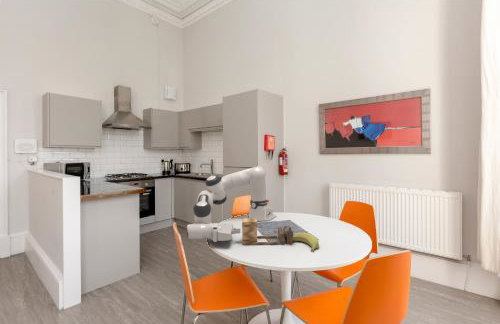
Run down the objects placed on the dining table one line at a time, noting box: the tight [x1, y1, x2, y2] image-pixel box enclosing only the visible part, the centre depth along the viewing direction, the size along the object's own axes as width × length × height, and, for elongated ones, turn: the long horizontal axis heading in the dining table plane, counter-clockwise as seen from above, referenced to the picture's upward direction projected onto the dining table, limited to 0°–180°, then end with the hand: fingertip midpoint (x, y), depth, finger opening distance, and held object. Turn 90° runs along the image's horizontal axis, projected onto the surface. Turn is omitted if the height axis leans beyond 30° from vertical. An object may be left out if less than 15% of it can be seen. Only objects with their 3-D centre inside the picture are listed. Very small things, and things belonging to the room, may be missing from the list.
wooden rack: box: [241, 225, 294, 246], centre depth 146 cm, size 28×12×10 cm, turn 91°
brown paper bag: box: [241, 217, 258, 243], centre depth 146 cm, size 8×8×12 cm
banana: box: [293, 232, 320, 253], centre depth 140 cm, size 14×6×20 cm
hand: (240, 230), depth 146 cm, fingers closed
